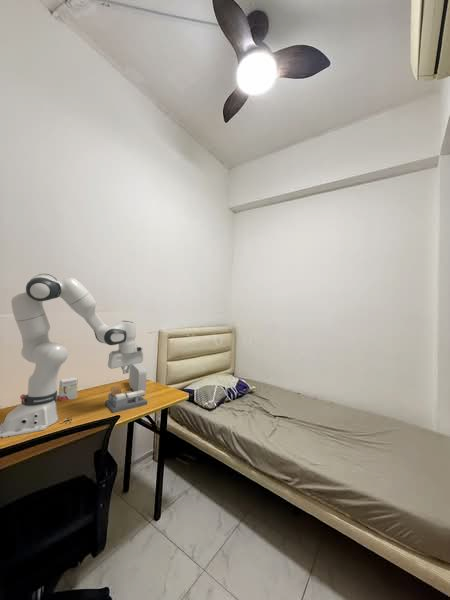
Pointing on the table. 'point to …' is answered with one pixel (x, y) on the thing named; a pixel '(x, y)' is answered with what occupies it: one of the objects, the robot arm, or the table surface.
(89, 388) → the table surface
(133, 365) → the rounded white slab
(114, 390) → the orange button
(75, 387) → the ink box
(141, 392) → the rocker
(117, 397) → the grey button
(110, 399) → the grey stepped base
